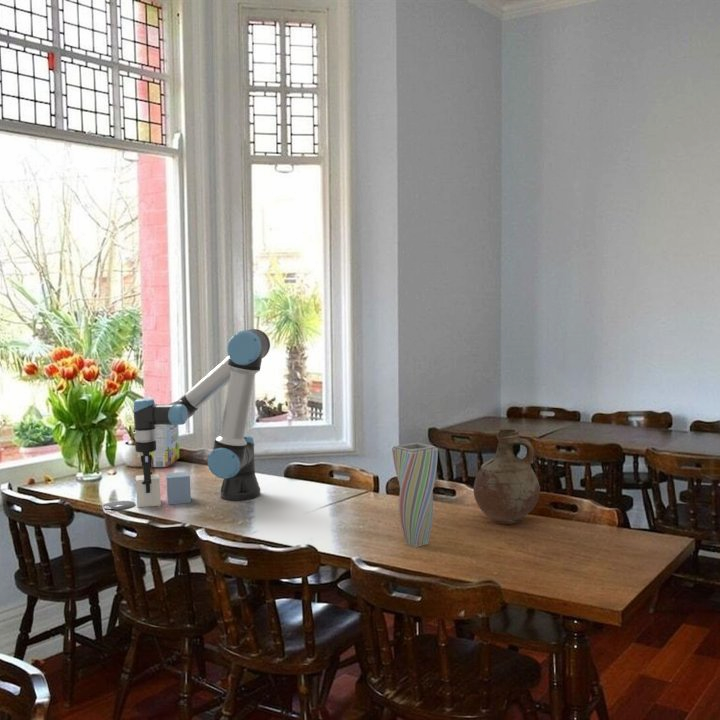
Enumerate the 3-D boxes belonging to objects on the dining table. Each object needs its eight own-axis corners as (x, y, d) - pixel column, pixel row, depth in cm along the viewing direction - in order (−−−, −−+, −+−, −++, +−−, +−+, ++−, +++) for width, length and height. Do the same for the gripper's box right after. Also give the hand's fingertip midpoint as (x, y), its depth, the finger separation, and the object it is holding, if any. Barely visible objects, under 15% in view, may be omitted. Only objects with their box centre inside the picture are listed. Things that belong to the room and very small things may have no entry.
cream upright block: (160, 499, 325) (158, 473, 324) (160, 505, 317) (159, 478, 316) (137, 501, 323) (135, 475, 322) (137, 507, 315) (135, 480, 314)
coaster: (141, 503, 320) (141, 502, 320) (120, 511, 310) (120, 509, 310) (118, 501, 325) (118, 499, 325) (97, 508, 315) (97, 507, 315)
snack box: (169, 467, 383) (167, 410, 381) (150, 468, 383) (147, 411, 381) (181, 457, 405) (178, 403, 402) (162, 458, 405) (159, 404, 402)
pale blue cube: (189, 497, 328) (188, 471, 327) (191, 502, 320) (189, 476, 319) (167, 499, 326) (165, 473, 325) (167, 504, 318) (166, 478, 317)
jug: (475, 511, 296) (473, 424, 294) (539, 512, 292) (538, 425, 290) (472, 528, 275) (471, 436, 272) (541, 530, 271) (540, 436, 269)
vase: (414, 553, 252) (411, 452, 249) (385, 542, 263) (383, 446, 260) (448, 544, 260) (446, 446, 257) (419, 534, 271) (417, 440, 268)
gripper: (135, 435, 329) (137, 490, 331) (135, 447, 305) (137, 505, 307) (155, 434, 331) (157, 488, 333) (156, 445, 307) (159, 504, 309)
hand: (148, 496), depth 320 cm, fingers open, 13 cm apart
